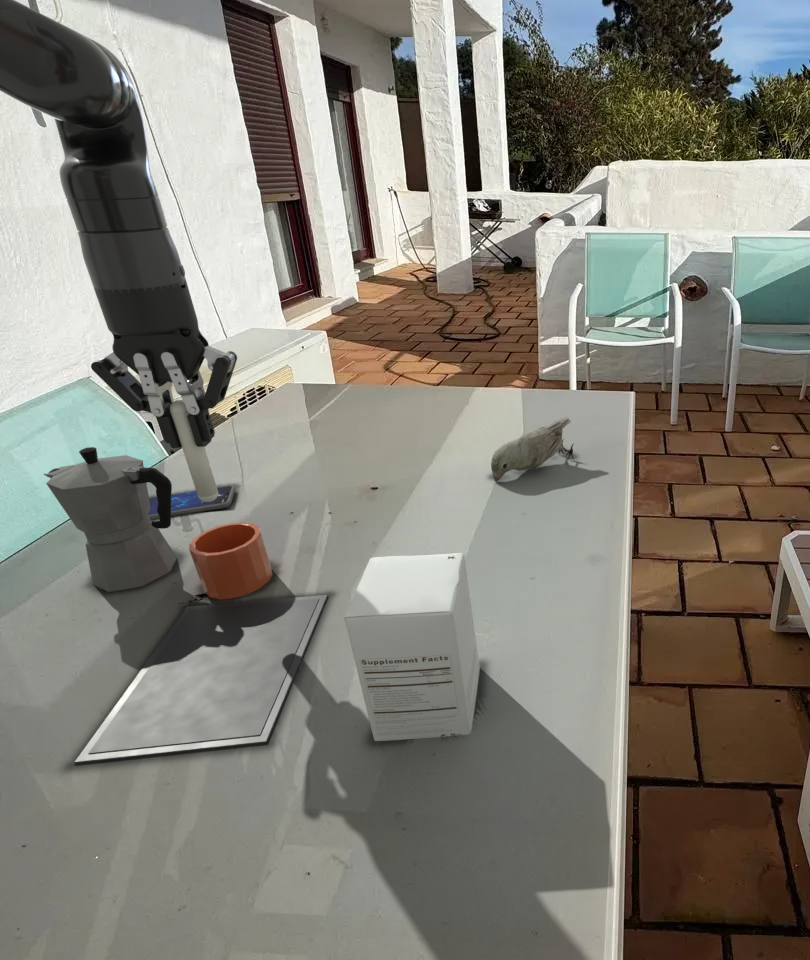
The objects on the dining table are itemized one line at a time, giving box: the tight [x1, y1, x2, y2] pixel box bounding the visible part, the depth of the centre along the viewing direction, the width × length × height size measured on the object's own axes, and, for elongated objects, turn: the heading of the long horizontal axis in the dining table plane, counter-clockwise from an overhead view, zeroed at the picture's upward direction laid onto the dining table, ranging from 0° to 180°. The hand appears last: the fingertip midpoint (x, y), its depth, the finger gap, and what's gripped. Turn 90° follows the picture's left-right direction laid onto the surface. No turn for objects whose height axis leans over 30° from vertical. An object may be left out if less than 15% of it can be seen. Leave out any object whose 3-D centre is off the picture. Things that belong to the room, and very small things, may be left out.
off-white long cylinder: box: [170, 399, 218, 502], centre depth 69 cm, size 2×2×12 cm
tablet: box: [73, 594, 329, 765], centre depth 66 cm, size 16×22×1 cm
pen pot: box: [188, 521, 273, 600], centre depth 78 cm, size 8×8×7 cm
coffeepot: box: [43, 446, 178, 593], centre depth 78 cm, size 15×9×18 cm, turn 85°
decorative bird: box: [490, 416, 575, 483], centre depth 108 cm, size 5×16×8 cm, turn 132°
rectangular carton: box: [343, 552, 481, 742], centre depth 58 cm, size 9×9×15 cm
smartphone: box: [148, 485, 236, 521], centre depth 98 cm, size 7×1×15 cm
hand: (192, 444), depth 69 cm, fingers closed on off-white long cylinder, 2 cm apart
